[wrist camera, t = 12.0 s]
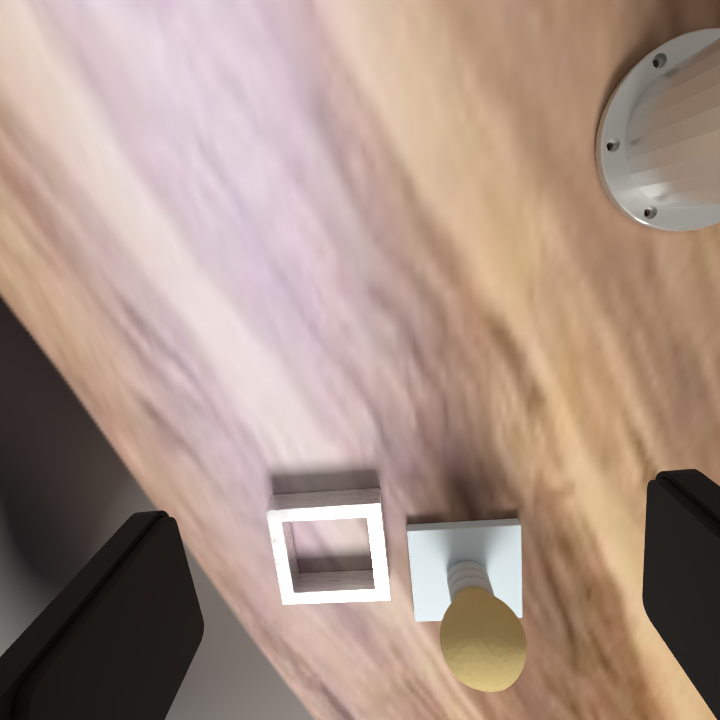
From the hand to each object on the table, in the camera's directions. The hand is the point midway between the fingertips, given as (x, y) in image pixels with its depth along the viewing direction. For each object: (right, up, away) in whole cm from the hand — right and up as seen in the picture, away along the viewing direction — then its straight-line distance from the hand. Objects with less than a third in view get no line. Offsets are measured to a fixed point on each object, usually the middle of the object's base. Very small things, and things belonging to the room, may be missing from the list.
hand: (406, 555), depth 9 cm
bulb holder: (-4, -13, +33) cm, 35 cm away
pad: (+9, -16, +33) cm, 37 cm away
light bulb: (+9, -16, +32) cm, 37 cm away
